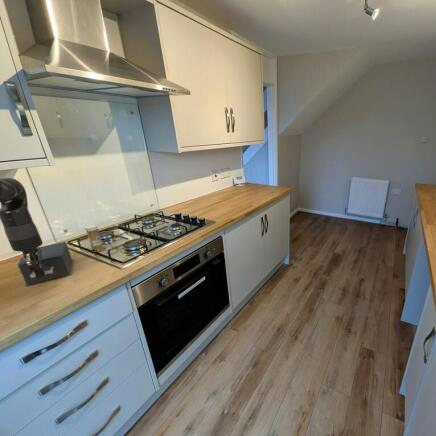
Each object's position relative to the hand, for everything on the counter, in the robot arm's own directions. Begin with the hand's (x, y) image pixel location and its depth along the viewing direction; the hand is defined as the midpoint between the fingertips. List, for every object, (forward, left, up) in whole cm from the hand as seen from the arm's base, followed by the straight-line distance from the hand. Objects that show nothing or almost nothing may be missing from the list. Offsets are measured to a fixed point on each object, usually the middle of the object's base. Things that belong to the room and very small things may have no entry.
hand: (41, 276), depth 90 cm
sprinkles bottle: (+16, +26, -6) cm, 31 cm away
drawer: (0, +10, -5) cm, 11 cm away
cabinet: (0, +14, -6) cm, 15 cm away
